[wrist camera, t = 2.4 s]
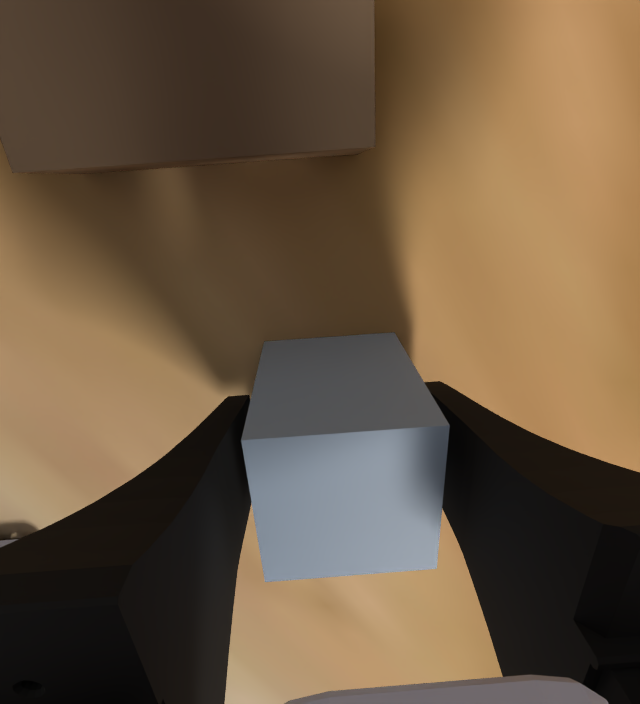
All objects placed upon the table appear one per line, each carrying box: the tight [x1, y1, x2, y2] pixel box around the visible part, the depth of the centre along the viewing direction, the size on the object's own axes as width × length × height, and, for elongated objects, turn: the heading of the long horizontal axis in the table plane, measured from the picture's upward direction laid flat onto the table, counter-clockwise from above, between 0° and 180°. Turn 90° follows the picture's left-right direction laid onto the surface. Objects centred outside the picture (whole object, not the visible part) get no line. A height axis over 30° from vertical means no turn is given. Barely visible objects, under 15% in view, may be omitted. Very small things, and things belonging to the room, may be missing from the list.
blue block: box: [241, 332, 450, 582], centre depth 11 cm, size 4×4×5 cm
